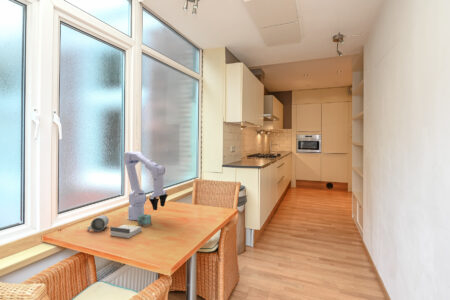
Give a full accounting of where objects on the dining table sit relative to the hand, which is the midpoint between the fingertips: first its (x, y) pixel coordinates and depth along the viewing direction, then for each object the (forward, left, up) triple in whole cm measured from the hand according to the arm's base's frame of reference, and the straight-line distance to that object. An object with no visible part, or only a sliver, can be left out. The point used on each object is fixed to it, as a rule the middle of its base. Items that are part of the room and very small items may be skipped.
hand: (158, 208), depth 140 cm
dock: (-9, -17, -10) cm, 22 cm away
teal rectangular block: (-7, -4, -10) cm, 13 cm away
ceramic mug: (-29, -17, -10) cm, 36 cm away
